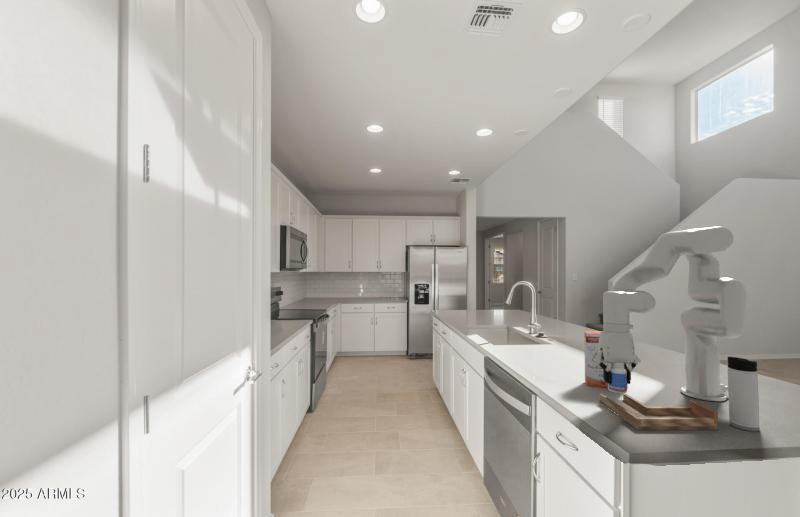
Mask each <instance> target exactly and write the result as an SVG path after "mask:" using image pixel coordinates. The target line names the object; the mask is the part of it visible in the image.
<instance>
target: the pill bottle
mask: <svg viewBox="0 0 800 517" xmlns="http://www.w3.org/2000/svg"><path fill="white" fill-rule="evenodd" d="M623 367H624V363H612V365H611V368H610V372H611V375H612V383H611V384H609V383H608V388H607V389H608V391H610V392H612V393H615V394H627V391H628V390H627V387H628V385H627V372H626V370H625V369H624V368H623Z"/></svg>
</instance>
